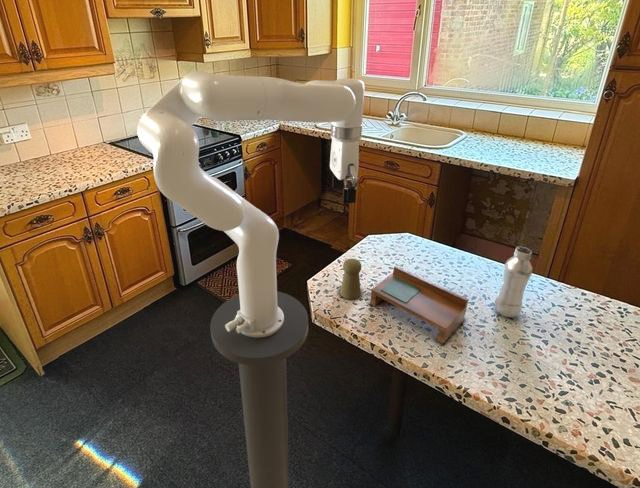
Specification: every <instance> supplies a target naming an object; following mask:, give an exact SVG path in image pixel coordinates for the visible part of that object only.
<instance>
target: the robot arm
mask: <svg viewBox="0 0 640 488" xmlns="http://www.w3.org/2000/svg"><path fill="white" fill-rule="evenodd" d="M364 102H365V83H364V82H363V80H361V79H358V78H352V77H351V78H350V77H349V78H347V77H346V78H339V79H336V80H322V79H321V80H320V79H314V80H310V81H308V82H305V83H302V82H297V81H292V80H289V79H284V78H280V77H272V76H257V75H256V76H255V75H254V76H253V75H252V76H250V75H234V74H233V75H232V74H216V73H211V72H209V71H204V70H193V71H191V72H189V73H188V74H186V75H184V76H183V77H181V78H180V80H178V81H177V82H176V83H175V84H174V85H172V86H171V88H170V89H169V90H168V91H167V92H165V93H164V94H163V95H162V96H161V97H160V98H159V99H158V100H156V102H155V103H154V104H153V105H151V106H150V107H149V108H148V109H147V110H146V111H145V112H144V113H143V115H142V116H141V117H140V119H139V121H138V123H137V129H136V132H137V137H138V140H139V142H140V143H141V145H142V146H143V147H144V149H146V150H147V151H148V152H149V153H151V154H152V155H153V178H154V181H155V185H156V186H157V188H158V190H159V192H160V193H161V194H162V195H163V196H164V197H165V198H167V199H168V200H170V201H171V202H172V203H174V204H176V205H177V206H178V207H180V208H181V209H183V210H184V211H186V212H187V213H189V214H190V215H192V216H194V217H195V218H196V219H198V220H199V221H201V222H202V223H203V224H204V225H206V226H207V227H209V228H212V229H214V230H217V231H219V232H220V231H221V232H223V233H225V234H226V235H227V236H228V237H229V238H230V239H231V240H232V241H233V242H234V243H235V244H236V245H237V247H238V256H237V259H236V275H237V285H238V286H237V287H238V295H239V298H240V310H239V311H237V315H236V317H235V320H233V321H231V322H229V323H227V324H226V325H225V328H226V330H227V331H231V330H232V329H234V328H235V327H237V328H236V331H237V333H240V332H241V333H242V334H244V335H246V336H249V337H255V338H261V337H266V336H269V335H272V334H274V333H275V332H277V331H278V330H279V329H280V328H281V327H282V325H283V322H284V314H283V311H282V310H281V309H280V308H279V307H278V304H277V291H278V280H277V278H278V277H277V250H278V245H279V240H280V231H279V228H278V226H277V224H276V223H275V221H274V220H273V219H272V218H271V217H270V216H269V215H268V214H267V213H265V212H264V211H262V210H261V209H259V208H257V207H256V206H255V205H254V204H252V203H250V202H249V201H248V200H247V199H246V198H243V197H242V196H241V195H240V194H238V193H237V192H236V191H234V190H233V189H232V188H231V187H229V186H228V185H226V184H225V183H224V182H222V181H221V179H218V178H217V177H214V176H211V175H210V174H209V173H207V172H206V171H205V170H203V169H202V168H201V166H200V164H199V156H200V141H199V137H198V133H196V131H195V129H194V128H193V126H194V125H195V124H196V123H197V121H199V119H200V118H204V119H207V120H209V121H215V122H231V121H232V122H233V121H234V122H235V121H260V120H261V121H266V120H267V121H269V120H271V121H279V122H280V121H281V122H298V123H299V122H300V123H317V124H318V123H330V138H331V145H330V155H329V156H330V157H329V169H330V171H331V172H332V188H333V189H342V203H343V204H345V205H347V204H355V203H356V197H357V186H358V179H359V177H358V175H359V165H360V164H359V163H360V148H359V147H360V144H359V143H360V142H359V141H360V140H361V139H362V131H363V119H364V117H363V116H364V104H365V103H364ZM348 181H349V182H348Z"/></svg>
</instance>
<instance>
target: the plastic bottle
mask: <svg viewBox="0 0 640 488" xmlns="http://www.w3.org/2000/svg"><path fill="white" fill-rule="evenodd" d="M532 254H533V252H532V250H531V249H530V248H528V247H525V246H516V247H515V250H514V252H513V256H511V257H510V258H508V259H507V260H506V261H505V263H504V269H503V277H502V282H501V286H500V290H499V292H498V294H497V295H496V297H495V299H494V308H495V310H496V311H497V313H498V314H500V315H501V316H503V317H506V318H516V317H517V316H519V315H520V313H521V312H522V310H523V298H524V293H525V290H526V287H527V285H528V283H529V281H530V279H531V277H532V275H533V265H532V263H531V261H530V260H532V259H531V258H532Z"/></svg>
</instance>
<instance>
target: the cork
mask: <svg viewBox="0 0 640 488" xmlns="http://www.w3.org/2000/svg"><path fill="white" fill-rule="evenodd" d="M342 269H343V276H342V282H341V286H340V289H339V290H340V291H339V293H340V296H341V297H342V298H344V299H346V300H357V299H359V298H360V297H361V294H362V292H361V279H360V272H361V270H362V263H361V262H360V260H358V259H356V258H346V260H345V261H344V262H343V263H342Z"/></svg>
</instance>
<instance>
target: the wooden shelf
mask: <svg viewBox="0 0 640 488" xmlns="http://www.w3.org/2000/svg"><path fill="white" fill-rule="evenodd" d="M383 300H384V301H386V302H388V303H389V304H391V305H393V306H395V307H397V308H399V309H401V310H402V311H405V312H406V313H408V314H410V315H412V316H414V317H416V318H418V319H419V320H421V321H423V322H425V323H426V324H429V325H431V326H432V327H435V328H436V329H438V333H437V334H438V335H437V340H436V341H437V342H438V343H441V344H443V345H444V343H446V342H447V340H448V339H449V338H450V337H451V335H453V334H454V332H455V331H456V330H457V329H458V328H459V327H460V325H461V324H462V323H463V322H464V320H465V316H466V312H467V308H468V304H469V300H470V299H468V297H467V298H466V297H464V296H462V295H461V294H458V293H456V292H454V291H452V290H449V289H447V288H445V287H443V286H441V285H439V284H436V283H434V282H432V281H430V280H428V279H426V278H423V277H421V276H419V275H417V274H414V273H413V272H411V271H408V270H406V269H404V268H402V267H399V266H397V265H395V266H393V271H392V273H390V275H388V276H387V277H386V278H384V279H383V280H382V281H381V282H379V283H377V285H375V286H374V287H373V288H371V291H370V301H369V304H370V305H372V306H373V307H376V306H377V305H378V304H380V303H381V302H382V301H383Z"/></svg>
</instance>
